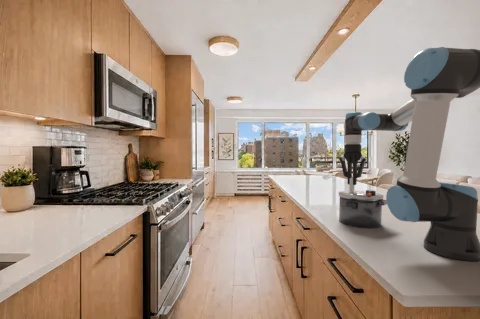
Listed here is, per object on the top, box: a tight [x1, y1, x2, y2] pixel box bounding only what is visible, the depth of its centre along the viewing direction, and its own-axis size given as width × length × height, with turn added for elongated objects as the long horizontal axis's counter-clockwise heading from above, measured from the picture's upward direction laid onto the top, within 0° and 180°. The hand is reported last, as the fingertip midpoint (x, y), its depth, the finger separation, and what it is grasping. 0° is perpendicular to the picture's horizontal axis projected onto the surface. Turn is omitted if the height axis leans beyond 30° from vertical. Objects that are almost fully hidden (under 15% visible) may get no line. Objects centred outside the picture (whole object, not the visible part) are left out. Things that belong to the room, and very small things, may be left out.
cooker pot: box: [338, 196, 387, 229], centre depth 116 cm, size 24×20×12 cm
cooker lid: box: [338, 189, 384, 201], centre depth 116 cm, size 19×19×4 cm
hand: (351, 191), depth 122 cm, fingers closed
